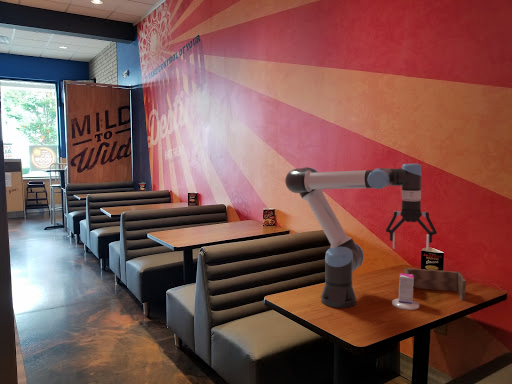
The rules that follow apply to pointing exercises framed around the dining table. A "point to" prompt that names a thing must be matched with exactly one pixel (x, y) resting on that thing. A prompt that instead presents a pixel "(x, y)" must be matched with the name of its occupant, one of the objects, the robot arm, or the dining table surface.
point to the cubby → (438, 280)
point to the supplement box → (406, 288)
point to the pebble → (405, 305)
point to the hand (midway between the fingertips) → (410, 249)
